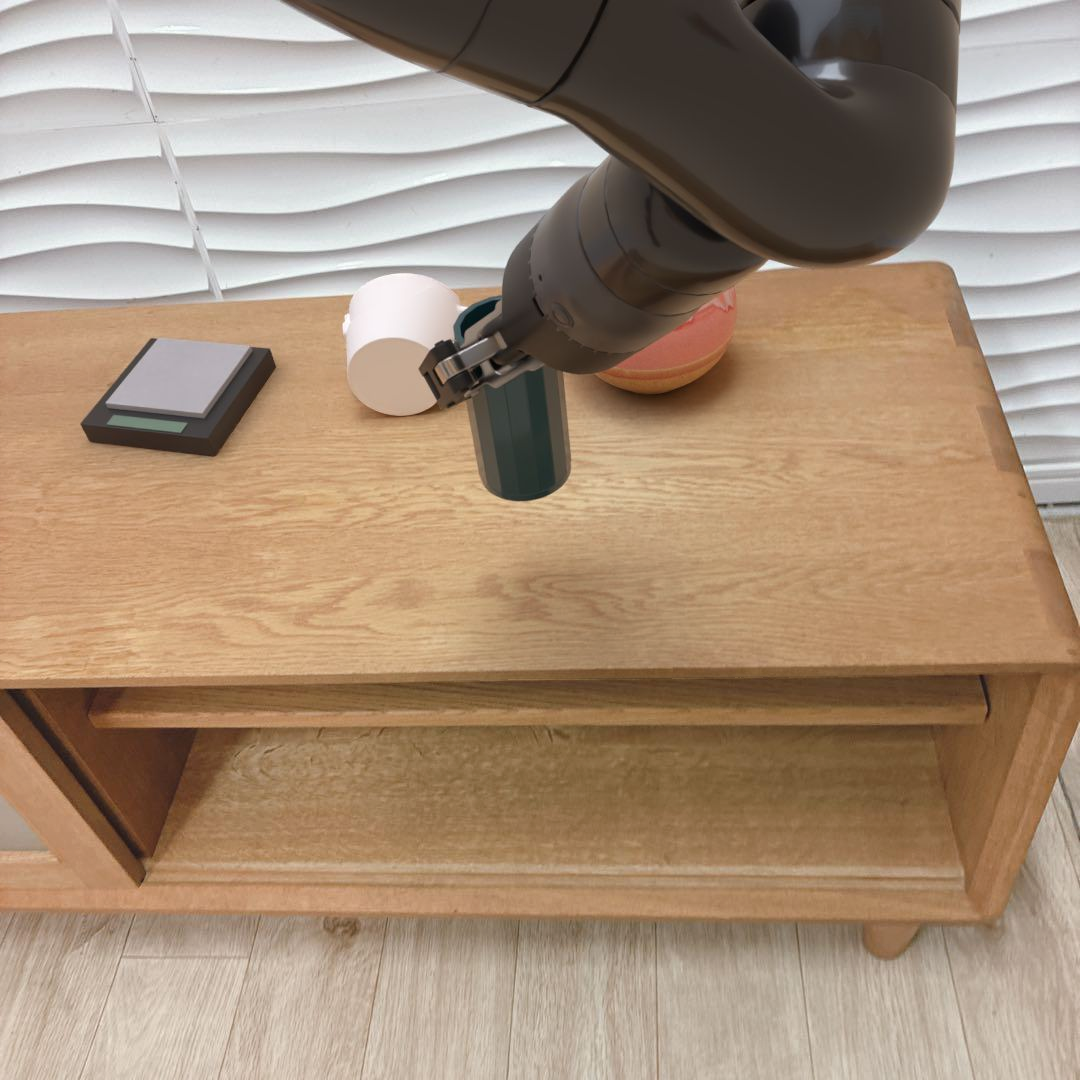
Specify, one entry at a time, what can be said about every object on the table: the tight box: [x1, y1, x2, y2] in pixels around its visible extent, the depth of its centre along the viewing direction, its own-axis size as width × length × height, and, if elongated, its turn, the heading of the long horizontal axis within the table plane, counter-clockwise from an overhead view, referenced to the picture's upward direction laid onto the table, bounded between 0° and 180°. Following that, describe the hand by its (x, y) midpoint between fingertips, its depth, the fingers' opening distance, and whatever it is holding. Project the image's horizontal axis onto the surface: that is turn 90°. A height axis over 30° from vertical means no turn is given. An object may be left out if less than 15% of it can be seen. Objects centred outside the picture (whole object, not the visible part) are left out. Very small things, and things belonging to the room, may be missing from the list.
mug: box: [342, 272, 469, 417], centre depth 89 cm, size 12×9×8 cm
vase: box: [593, 286, 738, 395], centre depth 84 cm, size 14×14×18 cm
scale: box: [80, 337, 277, 457], centre depth 92 cm, size 12×12×3 cm
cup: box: [453, 294, 572, 502], centre depth 64 cm, size 6×6×11 cm
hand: (495, 363), depth 63 cm, fingers closed on cup, 6 cm apart
